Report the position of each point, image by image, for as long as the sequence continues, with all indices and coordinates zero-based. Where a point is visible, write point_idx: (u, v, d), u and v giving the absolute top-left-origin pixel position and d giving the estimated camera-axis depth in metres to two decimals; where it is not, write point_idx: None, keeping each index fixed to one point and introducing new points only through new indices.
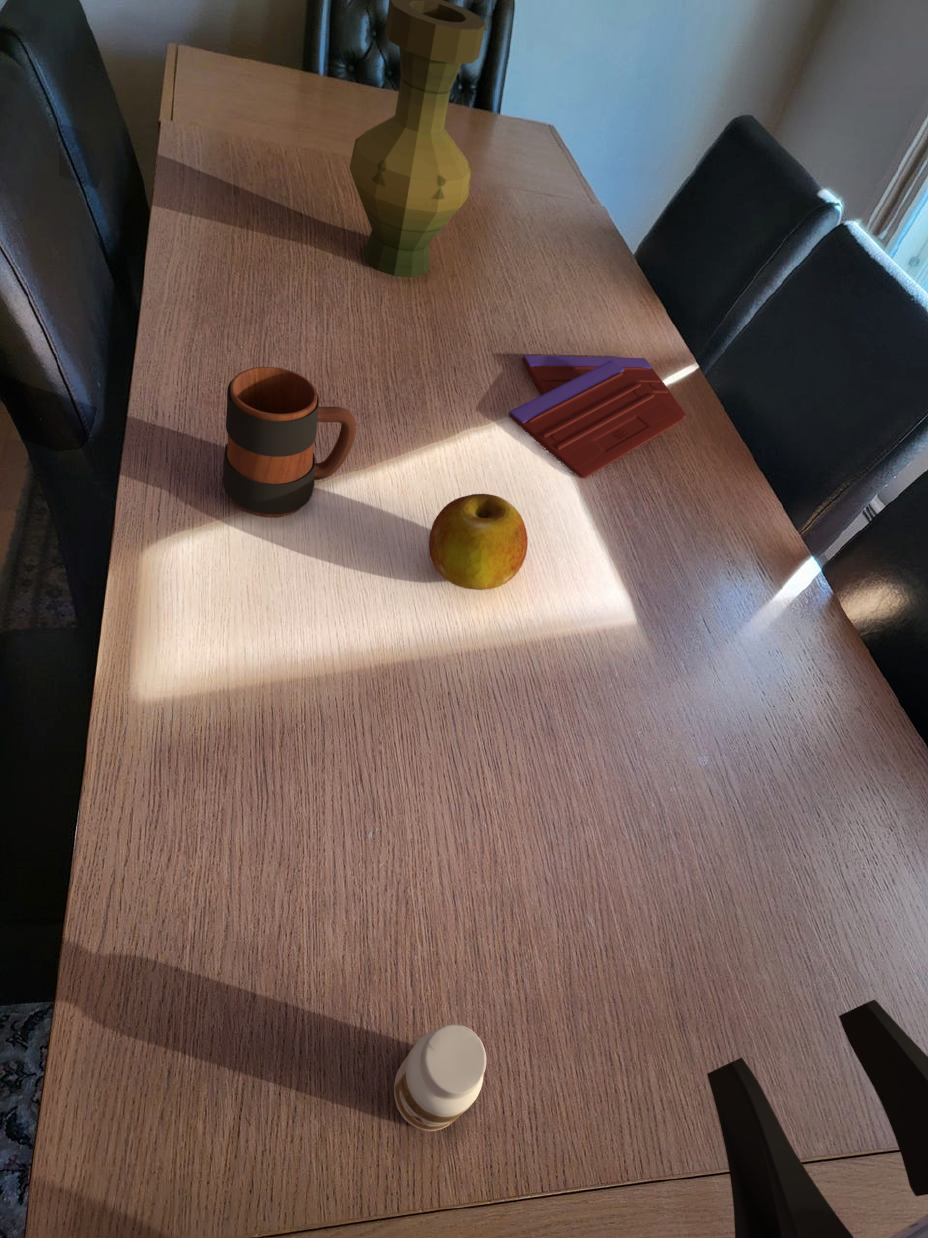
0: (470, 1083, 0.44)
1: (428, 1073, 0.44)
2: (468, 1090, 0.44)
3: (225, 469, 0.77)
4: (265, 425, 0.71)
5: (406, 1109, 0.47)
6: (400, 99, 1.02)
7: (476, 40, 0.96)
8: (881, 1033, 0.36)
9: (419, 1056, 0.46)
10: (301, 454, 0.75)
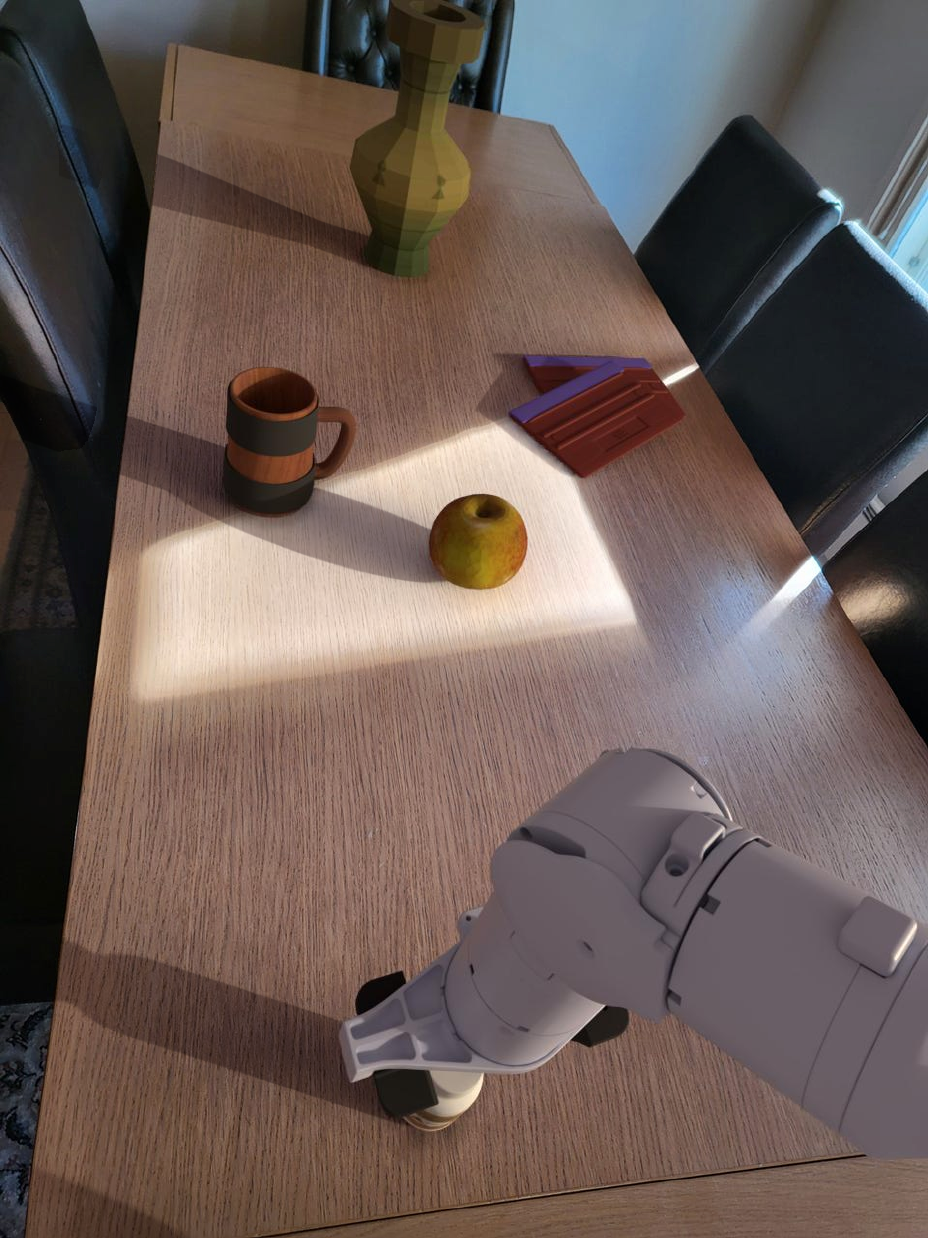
0: (470, 1083, 0.44)
1: None
2: (468, 1090, 0.44)
3: (225, 469, 0.77)
4: (265, 425, 0.71)
5: None
6: (400, 99, 1.02)
7: (476, 40, 0.96)
8: None
9: None
10: (301, 454, 0.75)
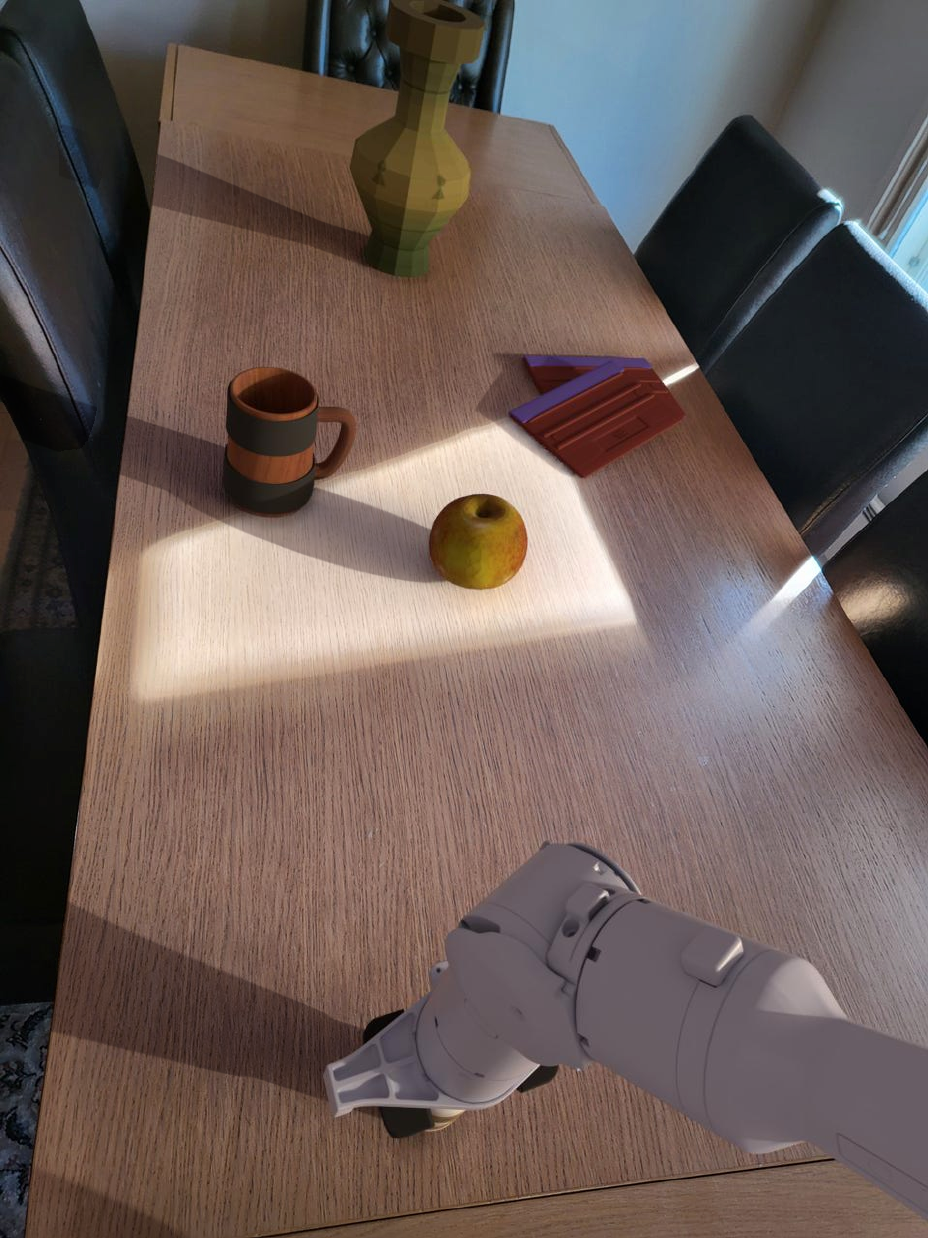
0: None
1: None
2: None
3: (225, 469, 0.77)
4: (265, 425, 0.71)
5: None
6: (400, 99, 1.02)
7: (476, 40, 0.96)
8: None
9: None
10: (301, 454, 0.75)
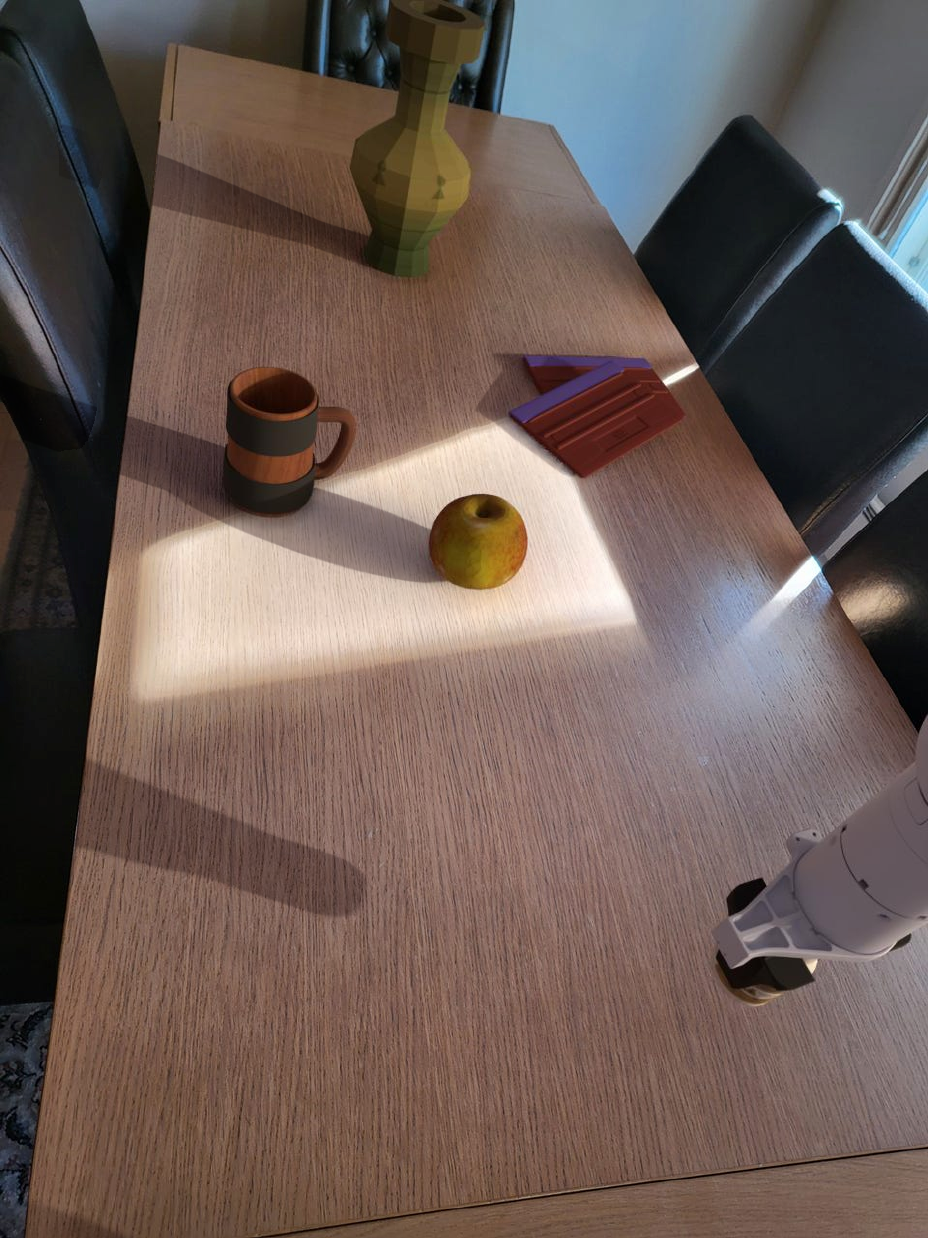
0: None
1: None
2: None
3: (225, 469, 0.77)
4: (265, 425, 0.71)
5: None
6: (400, 99, 1.02)
7: (476, 40, 0.96)
8: None
9: None
10: (301, 454, 0.75)
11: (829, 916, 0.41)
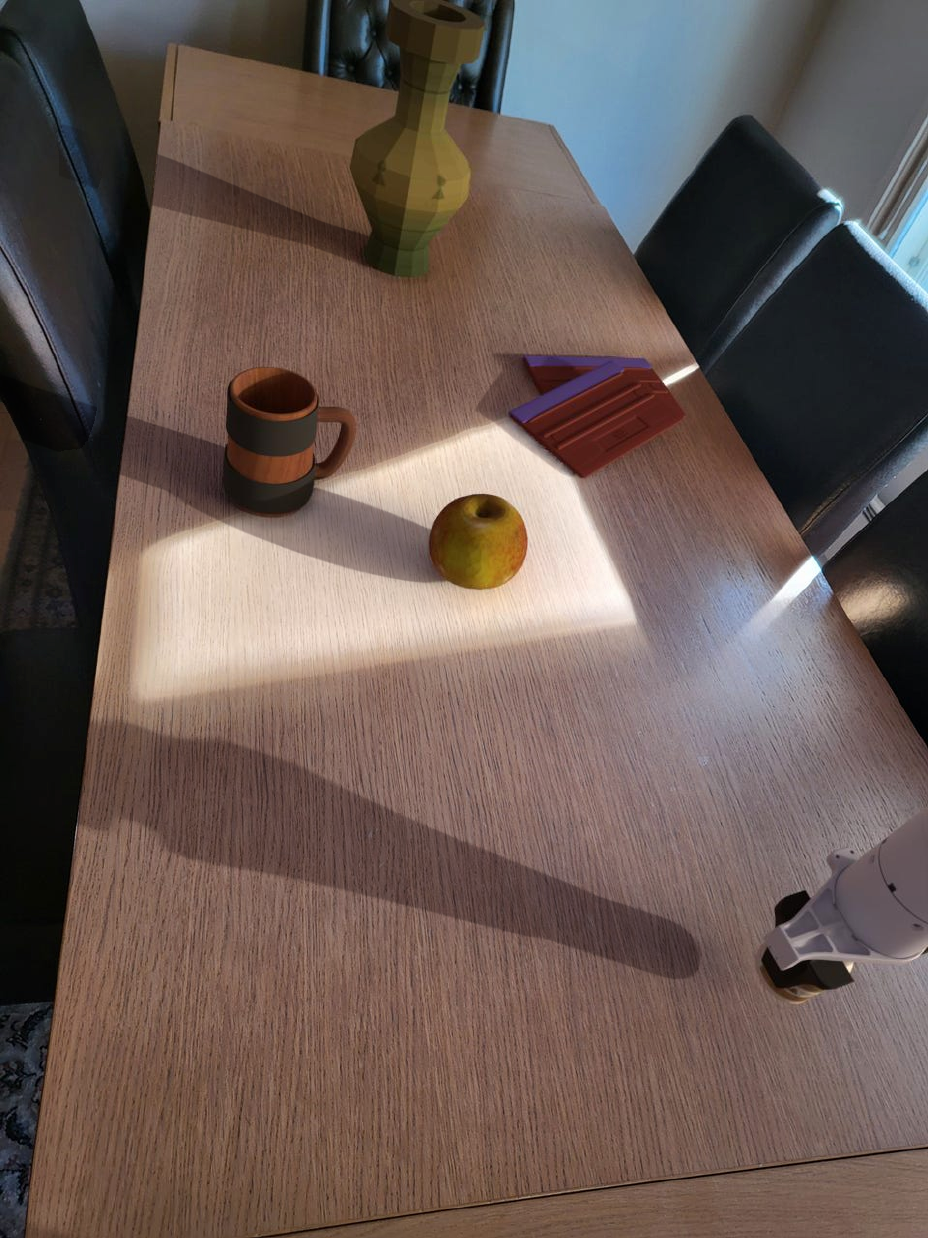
0: None
1: None
2: None
3: (225, 469, 0.77)
4: (265, 425, 0.71)
5: None
6: (400, 99, 1.02)
7: (476, 40, 0.96)
8: None
9: None
10: (301, 454, 0.75)
11: (868, 925, 0.47)
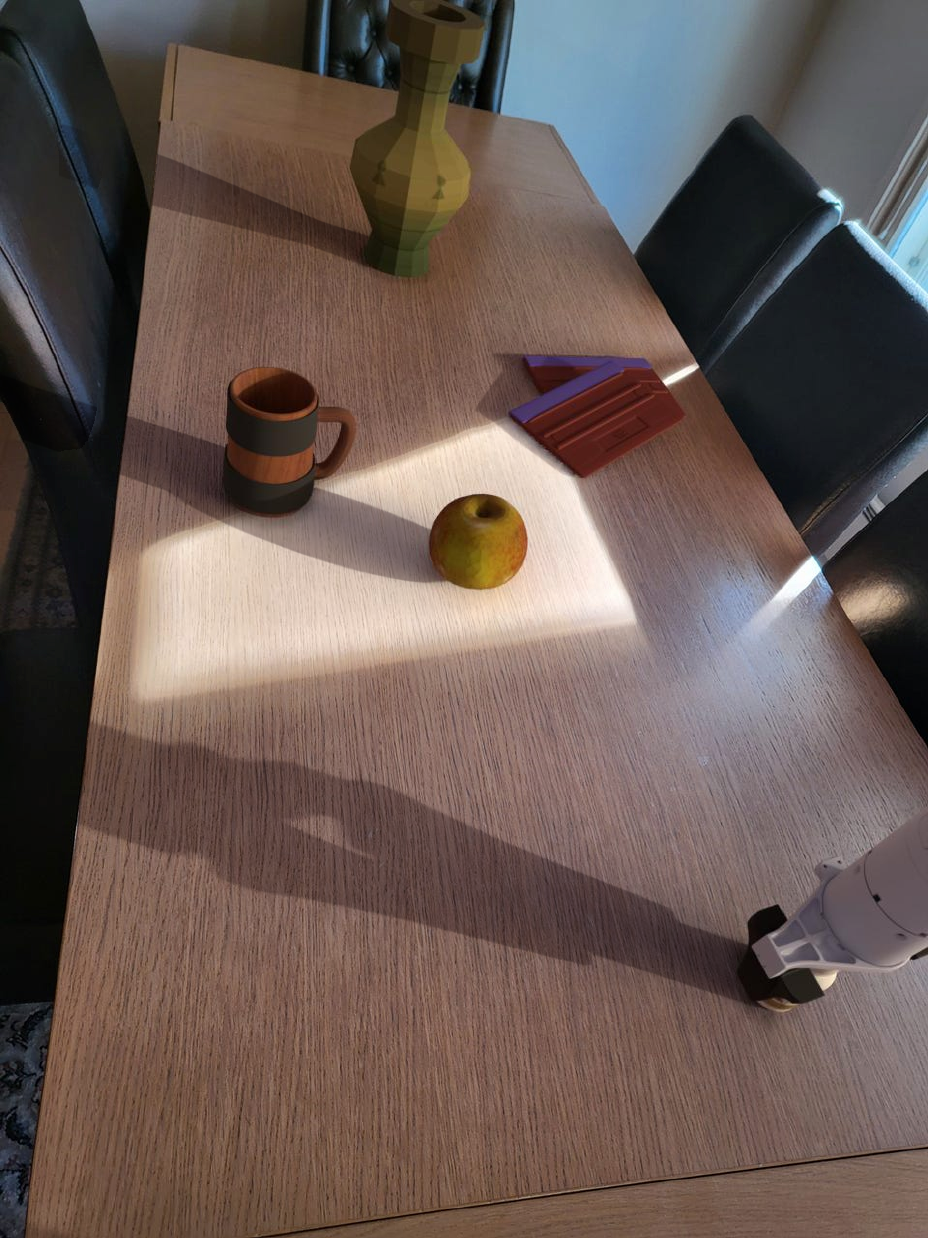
0: None
1: None
2: None
3: (225, 469, 0.77)
4: (265, 425, 0.71)
5: None
6: (400, 99, 1.02)
7: (476, 40, 0.96)
8: None
9: None
10: (301, 454, 0.75)
11: (854, 934, 0.48)
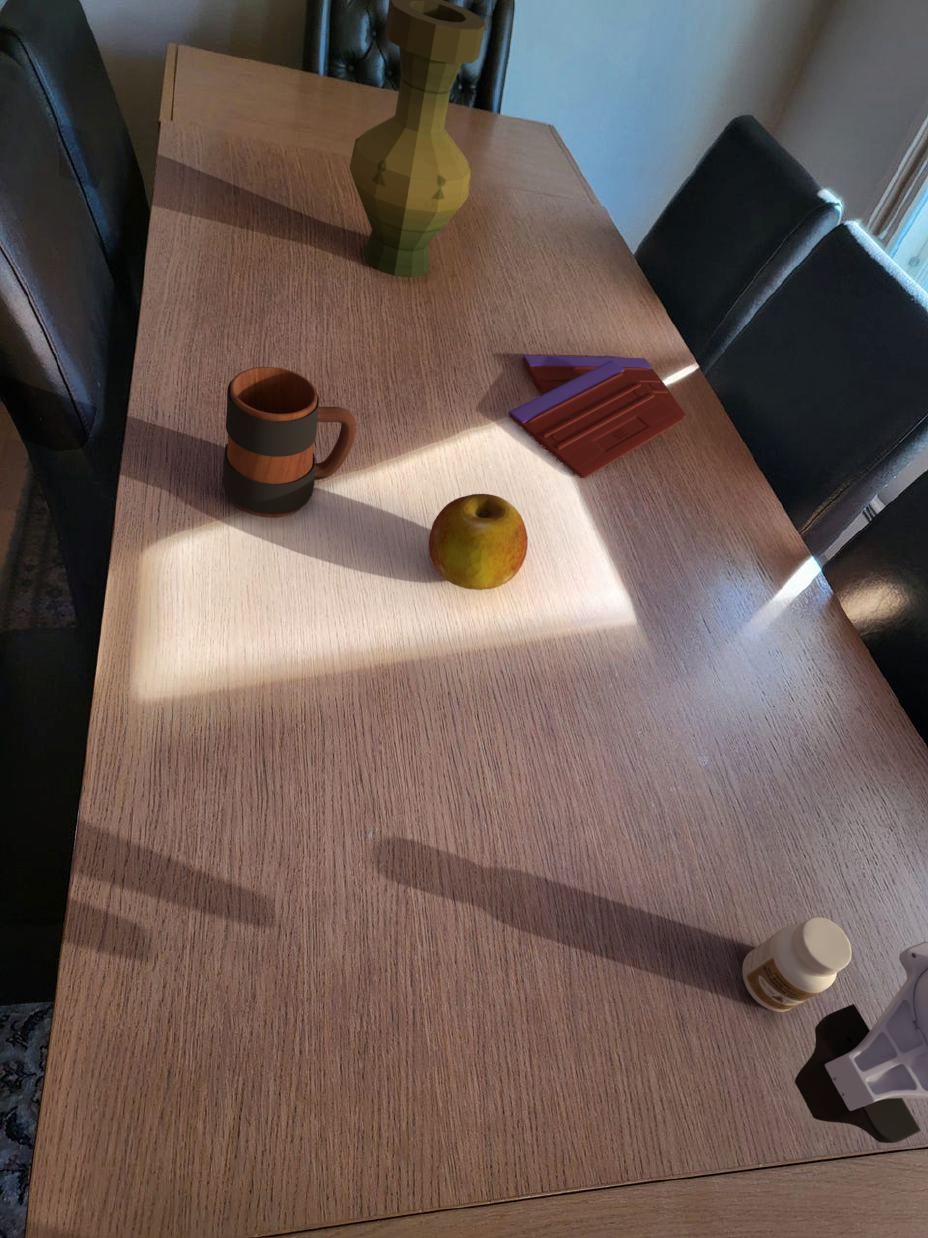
0: (843, 962, 0.53)
1: (810, 953, 0.53)
2: (843, 967, 0.53)
3: (225, 469, 0.77)
4: (265, 425, 0.71)
5: (766, 991, 0.57)
6: (400, 99, 1.02)
7: (476, 40, 0.96)
8: None
9: (786, 944, 0.55)
10: (301, 454, 0.75)
11: None
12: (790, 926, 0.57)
